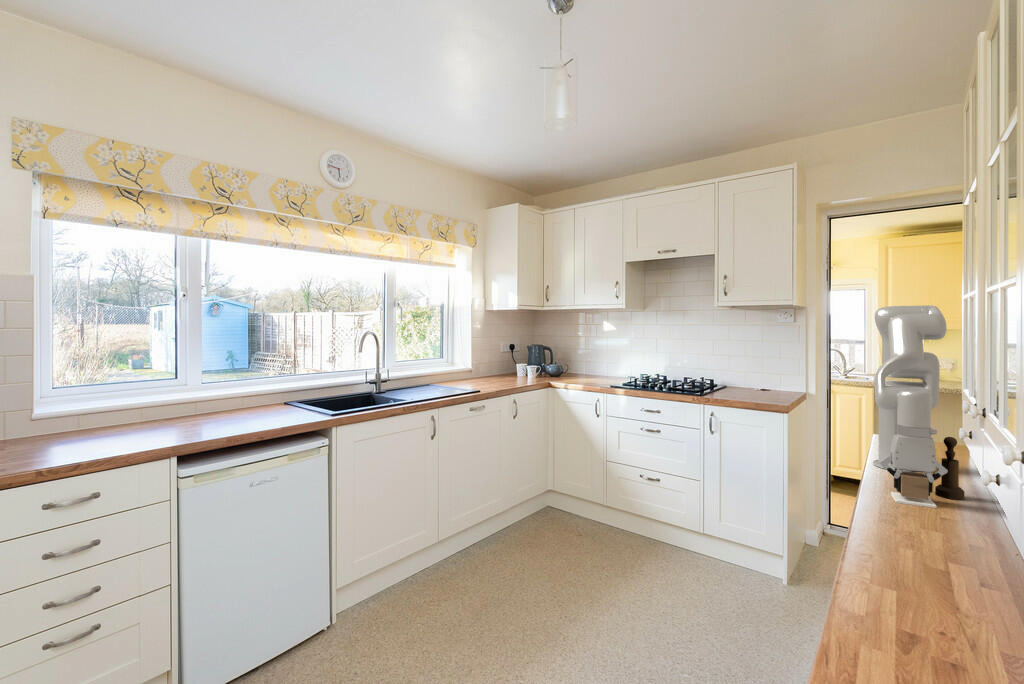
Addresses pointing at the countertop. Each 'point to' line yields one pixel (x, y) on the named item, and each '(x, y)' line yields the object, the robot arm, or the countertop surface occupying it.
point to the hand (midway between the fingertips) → (912, 492)
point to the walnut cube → (914, 485)
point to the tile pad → (912, 500)
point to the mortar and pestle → (950, 474)
